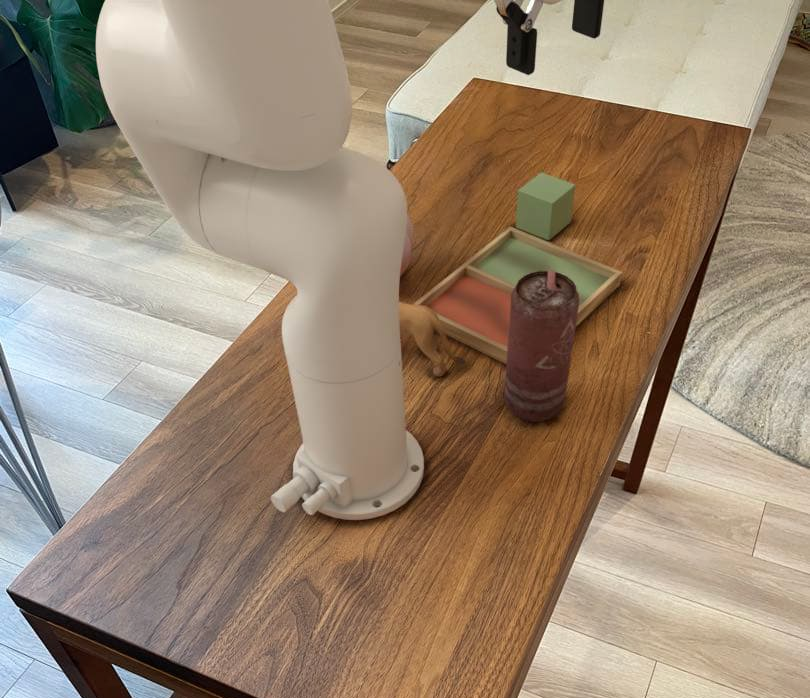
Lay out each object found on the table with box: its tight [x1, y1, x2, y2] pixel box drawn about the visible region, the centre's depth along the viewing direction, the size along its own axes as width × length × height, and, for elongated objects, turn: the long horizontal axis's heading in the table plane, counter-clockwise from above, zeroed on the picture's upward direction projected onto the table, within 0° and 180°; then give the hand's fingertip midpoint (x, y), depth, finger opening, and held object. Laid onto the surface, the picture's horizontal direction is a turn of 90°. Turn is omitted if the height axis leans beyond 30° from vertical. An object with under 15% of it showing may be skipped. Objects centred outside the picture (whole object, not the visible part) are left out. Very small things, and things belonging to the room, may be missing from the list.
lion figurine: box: [399, 300, 467, 378], centre depth 87 cm, size 15×5×9 cm, turn 72°
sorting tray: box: [412, 226, 623, 365], centre depth 94 cm, size 19×16×2 cm
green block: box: [515, 172, 576, 242], centre depth 102 cm, size 5×5×5 cm
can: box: [503, 270, 579, 423], centre depth 80 cm, size 6×6×14 cm
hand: (553, 51), depth 82 cm, fingers open, 9 cm apart
